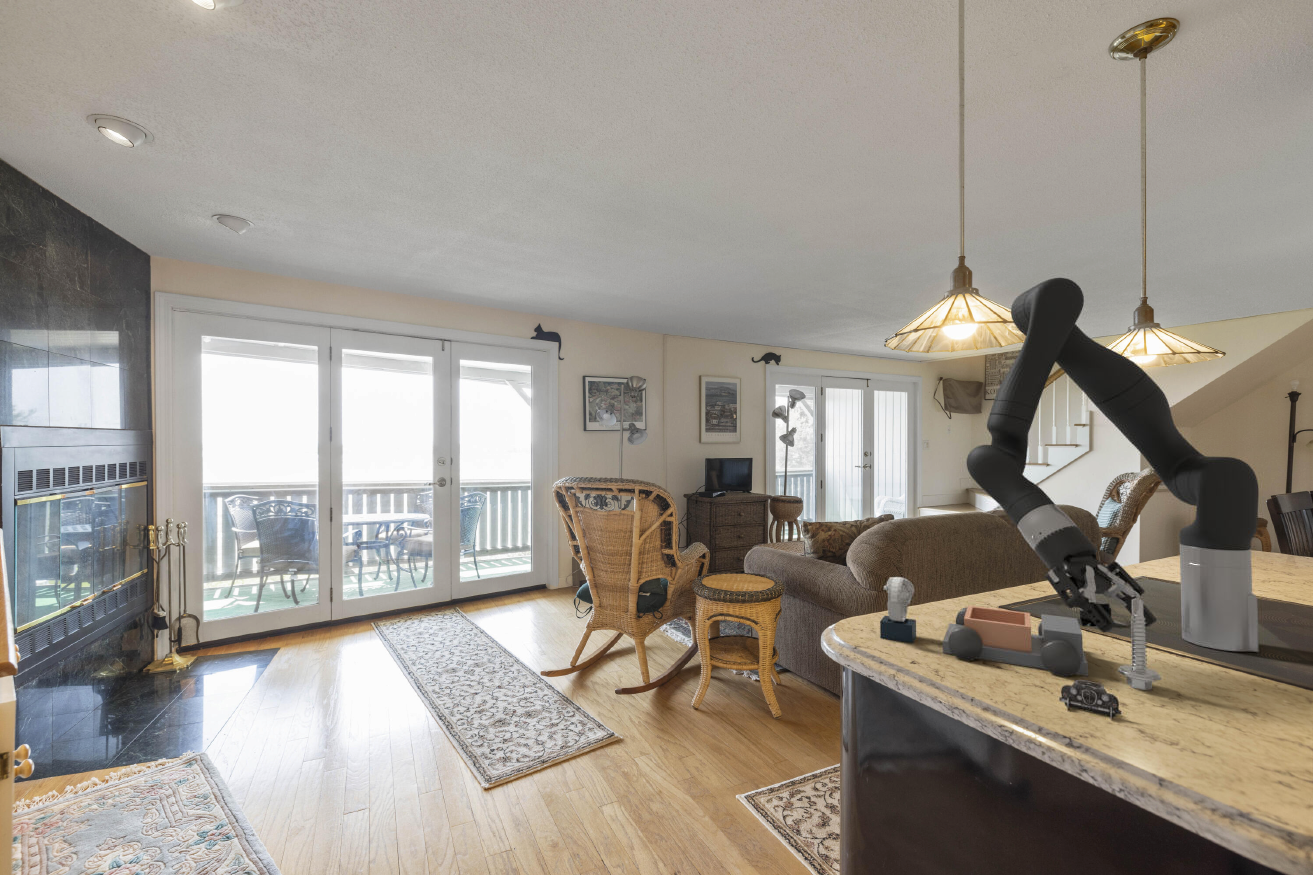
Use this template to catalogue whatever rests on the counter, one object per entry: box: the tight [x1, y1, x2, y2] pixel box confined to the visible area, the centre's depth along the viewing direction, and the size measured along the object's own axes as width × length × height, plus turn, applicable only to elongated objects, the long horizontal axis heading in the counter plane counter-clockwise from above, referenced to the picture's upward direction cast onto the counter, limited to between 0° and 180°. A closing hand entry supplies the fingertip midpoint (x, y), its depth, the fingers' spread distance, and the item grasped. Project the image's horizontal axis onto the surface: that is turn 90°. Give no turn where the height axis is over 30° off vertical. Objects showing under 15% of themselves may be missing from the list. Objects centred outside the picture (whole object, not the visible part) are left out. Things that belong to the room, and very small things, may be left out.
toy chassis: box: [942, 605, 1089, 677], centre depth 99 cm, size 20×16×6 cm
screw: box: [1117, 597, 1162, 691], centre depth 85 cm, size 13×5×5 cm
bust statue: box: [879, 576, 917, 644], centre depth 108 cm, size 6×8×11 cm
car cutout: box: [1058, 679, 1123, 719], centre depth 74 cm, size 15×7×4 cm, turn 50°
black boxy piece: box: [1077, 599, 1130, 627], centre depth 117 cm, size 12×7×5 cm, turn 92°
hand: (1131, 627), depth 86 cm, fingers open, 8 cm apart
